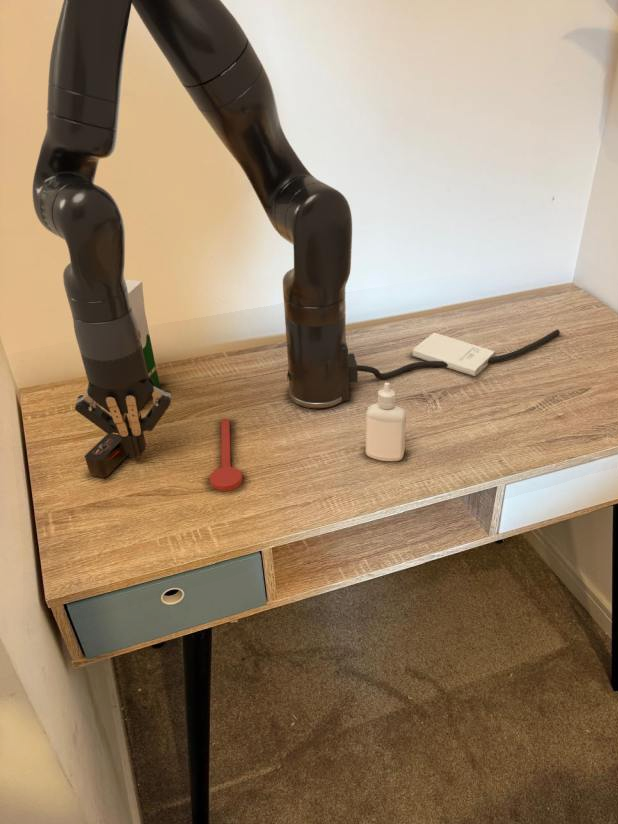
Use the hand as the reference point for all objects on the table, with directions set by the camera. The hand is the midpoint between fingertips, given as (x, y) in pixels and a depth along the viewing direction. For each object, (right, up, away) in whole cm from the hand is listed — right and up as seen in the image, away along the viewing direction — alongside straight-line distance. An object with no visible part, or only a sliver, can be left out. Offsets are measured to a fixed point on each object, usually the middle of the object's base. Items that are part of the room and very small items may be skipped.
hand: (137, 453), depth 105 cm
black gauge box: (-4, -1, +1) cm, 5 cm away
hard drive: (+48, +19, +26) cm, 58 cm away
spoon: (+12, -1, +2) cm, 12 cm away
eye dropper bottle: (+35, 0, +4) cm, 35 cm away
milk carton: (-6, +11, +15) cm, 19 cm away
